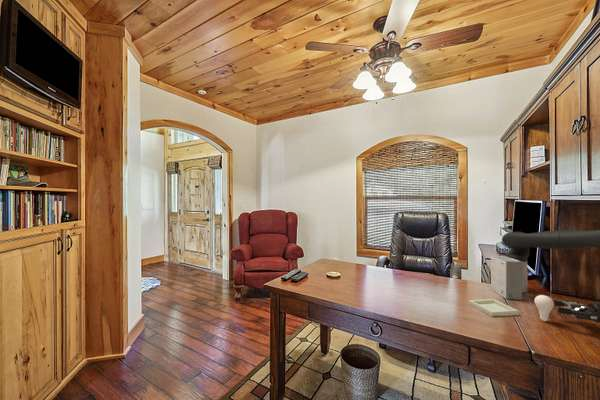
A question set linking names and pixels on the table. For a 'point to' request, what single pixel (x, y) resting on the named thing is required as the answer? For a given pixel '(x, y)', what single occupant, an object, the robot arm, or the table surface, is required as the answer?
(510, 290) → the hard drive box
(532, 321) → the table surface
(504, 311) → the tray
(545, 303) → the lightbulb
